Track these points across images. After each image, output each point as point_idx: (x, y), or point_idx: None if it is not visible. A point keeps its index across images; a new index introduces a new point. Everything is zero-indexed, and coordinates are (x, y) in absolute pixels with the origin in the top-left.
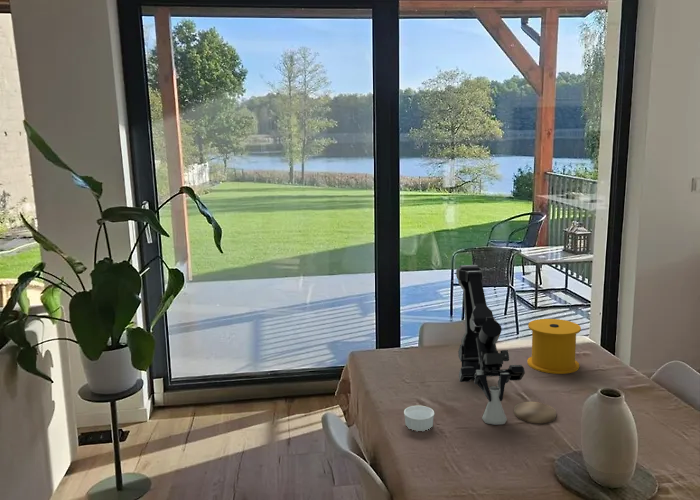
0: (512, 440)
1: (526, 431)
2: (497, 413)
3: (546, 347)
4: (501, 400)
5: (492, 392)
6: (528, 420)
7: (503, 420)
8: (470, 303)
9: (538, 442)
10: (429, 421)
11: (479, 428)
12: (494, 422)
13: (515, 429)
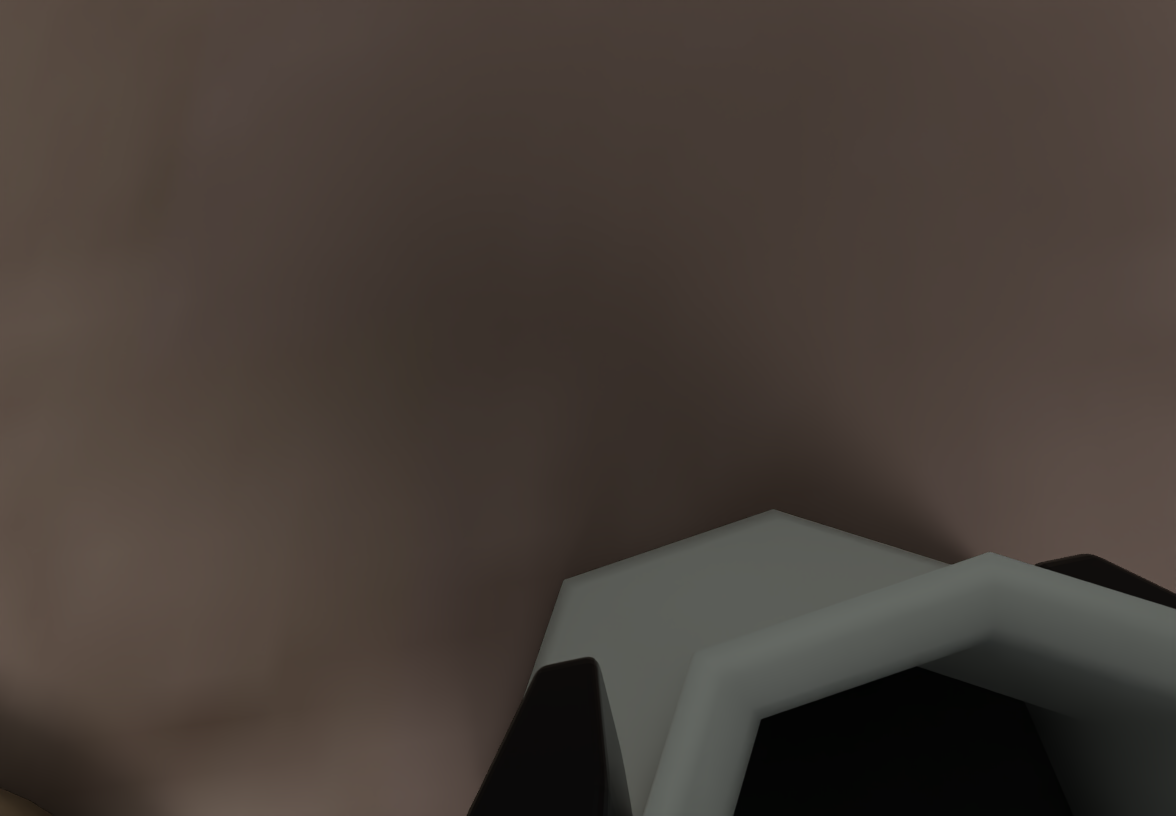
0: (460, 8)
1: (156, 368)
2: (724, 578)
3: None
4: (583, 673)
5: (1093, 691)
6: (3, 797)
7: (574, 591)
8: None
9: (39, 22)
10: None
11: (1090, 342)
12: (784, 518)
13: (355, 415)
